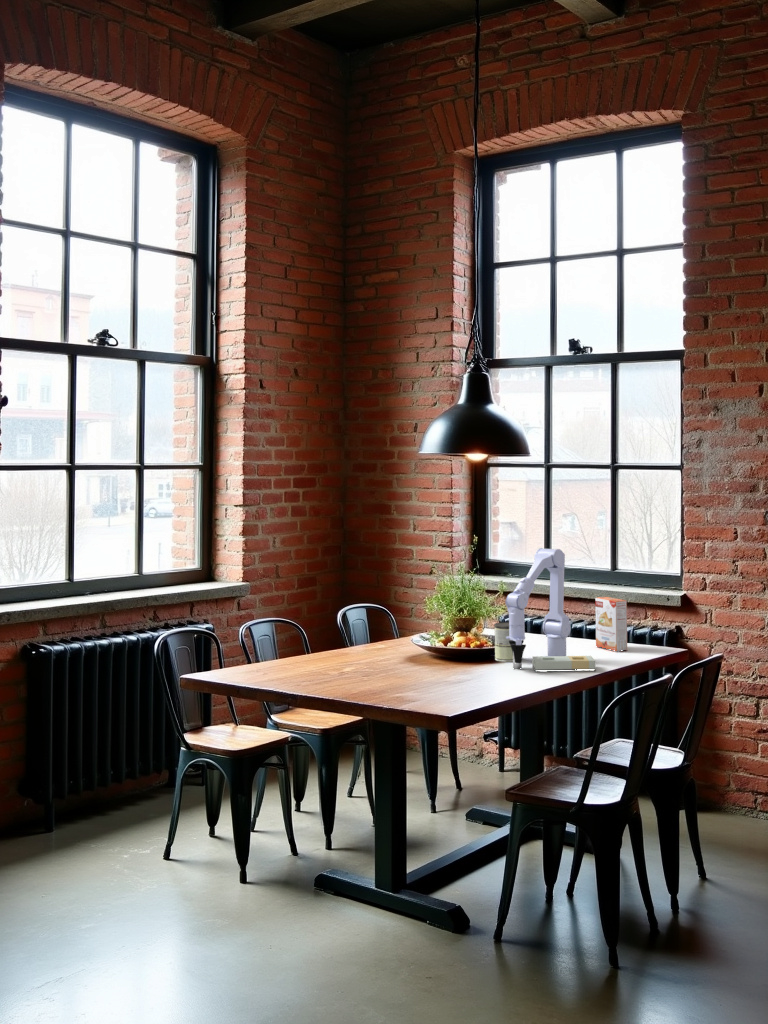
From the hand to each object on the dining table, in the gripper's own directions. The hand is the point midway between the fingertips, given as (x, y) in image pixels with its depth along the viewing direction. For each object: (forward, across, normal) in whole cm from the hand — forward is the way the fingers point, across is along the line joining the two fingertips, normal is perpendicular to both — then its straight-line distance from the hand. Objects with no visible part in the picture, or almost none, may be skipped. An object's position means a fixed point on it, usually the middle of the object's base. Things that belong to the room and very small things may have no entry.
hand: (517, 661), depth 407 cm
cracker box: (+3, -39, +42) cm, 57 cm away
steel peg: (+3, 0, 0) cm, 3 cm away
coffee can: (+3, -19, -2) cm, 19 cm away
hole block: (+3, +2, +17) cm, 17 cm away
